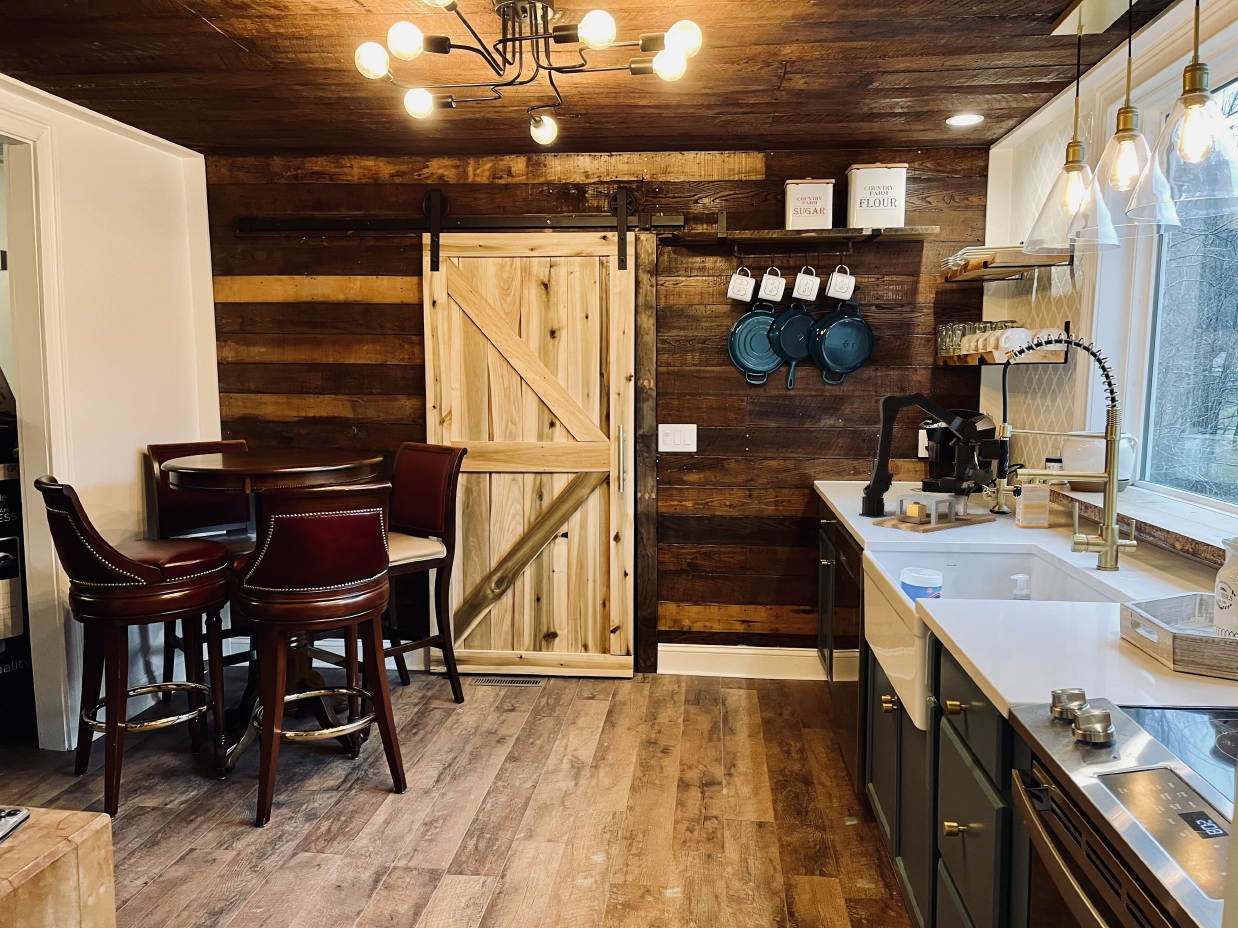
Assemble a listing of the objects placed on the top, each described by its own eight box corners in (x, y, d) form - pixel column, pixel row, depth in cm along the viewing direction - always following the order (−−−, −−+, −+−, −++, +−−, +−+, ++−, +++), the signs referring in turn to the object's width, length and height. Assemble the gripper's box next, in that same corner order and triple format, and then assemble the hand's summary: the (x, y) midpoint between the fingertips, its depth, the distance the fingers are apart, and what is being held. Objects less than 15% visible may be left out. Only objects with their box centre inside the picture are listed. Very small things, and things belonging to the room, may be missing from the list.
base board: (872, 524, 269) (872, 520, 269) (945, 513, 291) (945, 509, 290) (922, 532, 254) (922, 528, 254) (995, 520, 276) (995, 516, 276)
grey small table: (895, 522, 272) (896, 495, 272) (915, 519, 278) (916, 493, 277) (934, 528, 261) (935, 500, 260) (954, 525, 267) (955, 498, 266)
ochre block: (906, 517, 267) (907, 504, 267) (914, 516, 269) (915, 503, 269) (917, 518, 264) (918, 505, 264) (925, 517, 266) (926, 504, 266)
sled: (894, 519, 268) (895, 500, 267) (946, 511, 283) (946, 493, 282) (919, 523, 261) (920, 503, 260) (971, 515, 276) (971, 496, 275)
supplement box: (1042, 525, 266) (1044, 483, 265) (1048, 528, 261) (1050, 485, 260) (1014, 525, 267) (1016, 483, 266) (1020, 528, 262) (1022, 485, 261)
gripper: (970, 463, 267) (968, 513, 269) (1004, 460, 278) (1002, 508, 280) (939, 460, 276) (937, 509, 278) (972, 457, 287) (970, 504, 289)
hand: (962, 507), depth 281 cm, fingers closed
